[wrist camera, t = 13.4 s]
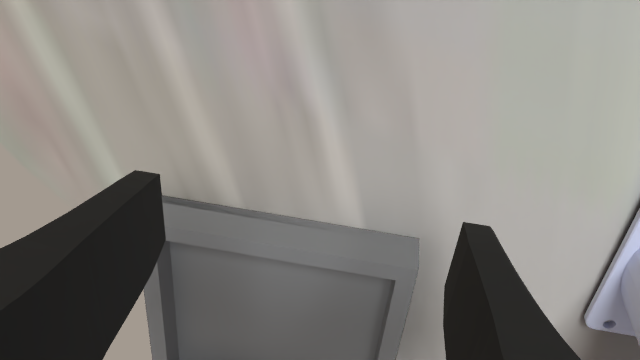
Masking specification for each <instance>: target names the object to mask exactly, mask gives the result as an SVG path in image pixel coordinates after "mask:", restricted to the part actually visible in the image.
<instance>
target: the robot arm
mask: <svg viewBox="0 0 640 360" xmlns="http://www.w3.org/2000/svg"><path fill="white" fill-rule="evenodd" d="M165 240H166V235H165V225H164V214H163V204H162V193H161V183H160V174H155V173H149V172H143V171H136V170H135V171H133V172H132V173H130V174H128V175H126V176H125V177H123V178H122V179H120V180H118V181H117V182H115V183H114V184H112V185H111V186H109V187H107V188H106V189H104V190H103V191H101V192H100V193H98V194H97V195H95V196H93V197H92V198H90V199H89V200H87V201H85V202H84V203H82V204H81V205H79V206H77V207H76V208H74V209H73V210H71V211H70V212H68V213H66V214H64V215H63V216H61V217H59V218H57V219H55V220H54V221H52V222H50V223H48V224H47V225H45V226H43V227H42V228H40V229H38V230H36V231H34V232H32V233H31V234H29V235H27V236H25V237H23V238H21V239H19V240H17V241H15V242H13V243H11V244H9V245H7V246H5V247H3V248H0V360H102V359H103V358H104V356H105V354H106V352H107V350H108V348H109V347H110V345H111V343H112V342H113V340H114V338H115V336H116V335H117V333H118V331H119V330H120V328H121V326H122V324H123V323H124V321H125V319H126V318H127V316H128V314H129V313H130V311H131V309H132V308H133V306H134V304H135V302H136V301H137V299H138V297H139V295H140V294H141V292H142V290H143V289H144V287H145V285H146V283H147V282H148V280H149V278H150V276H151V274H152V272H153V270H154V267H155V265H156V263H157V260H158V258H159V256H160V253H161V250H162V248H163V245H164V243H165ZM584 319H585V322H586V325H587V326H588V327H589V328H592V329H596V330H602V331H608V332H613V333H619V334H625V335H630V336H636V338H637V341H638V343H639V346H640V208H639V210H638V212H637V214H636V216H635V218H634V220H633V222H632V224H631V226H630V228H629V230H628V232H627V234H626V236H625V237H624V239H623V241H622V243H621V245H620V247H619V249H618V251H617V253H616V255H615V257H614V259H613V261H612V263H611V265H610V267H609V268H608V270H607V272H606V274H605V276H604V278H603V280H602V282H601V284H600V286H599V288H598V290H597V292H596V294H595V296H594V298H593V299H592V301H591V303H590V305H589V307H588V309H587V311H586V313H585V316H584ZM608 320H611V321H609V322H605V321H608ZM443 327H444V339H445V350H446V360H581V359H580V358H579V357H578V356H577V355H576V354H575V352H574V351H573V350H572V349H571V348H570V347H569V345H568V344H567V343H566V342H565V341H564V340H563V338H562V337H561V336H560V334H559V333H558V332H557V331H556V329H555V328H554V327H553V325H552V324H551V323H550V321H549V320H548V318H547V317H546V316H545V314H544V313H543V312H542V310H541V309H540V307H539V306H538V304H537V303H536V301H535V300H534V298H533V297H532V295H531V294H530V292H529V291H528V289H527V288H526V286H525V285H524V283H523V281H522V280H521V278H520V277H519V275H518V273H517V272H516V270H515V268H514V267H513V265H512V263H511V262H510V260H509V258H508V256H507V255H506V253H505V251H504V249H503V248H502V246H501V244H500V242H499V240H498V238H497V237H496V235H495V233H494V231H493V230H492V228H491V227H490V226H485V225H478V224H472V223H466V222H463V224H462V228H461V231H460V235H459V238H458V242H457V245H456V248H455V252H454V255H453V259H452V262H451V266H450V269H449V273H448V276H447V280H446V283H445V290H444V318H443Z"/></svg>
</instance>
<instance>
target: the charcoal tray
mask: <svg viewBox="0 0 640 360" xmlns="http://www.w3.org/2000/svg"><path fill="white" fill-rule="evenodd" d="M162 204H163V214H164V225H165V235H166V240H165V243H164V245H163V248H162V250H161V253H160V256H159V258H158V260H157V263H156V265H155V267H154V270H153V272H152V274H151V276H150V278H149V280H148V282H147V283H146V285H145V287H144V296H145V303H146V312H147V320H148V327H149V336H150V344H151V352H152V360H396V356H397V352H398V348H399V344H400V340H401V336H402V332H403V328H404V324H405V321H406V317H407V313H408V309H409V305H410V301H411V297H412V293H413V289H414V285H415V282H416V278H417V274H418V269H419V239H418V238H412V237H406V236H400V235H394V234H388V233H382V232H376V231H370V230H365V229H359V228H353V227H347V226H341V225H335V224H329V223H323V222H317V221H311V220H305V219H299V218H293V217H287V216H281V215H275V214H269V213H263V212H257V211H251V210H245V209H239V208H233V207H227V206H221V205H215V204H209V203H203V202H197V201H191V200H186V199H180V198H174V197H168V196H162Z"/></svg>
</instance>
